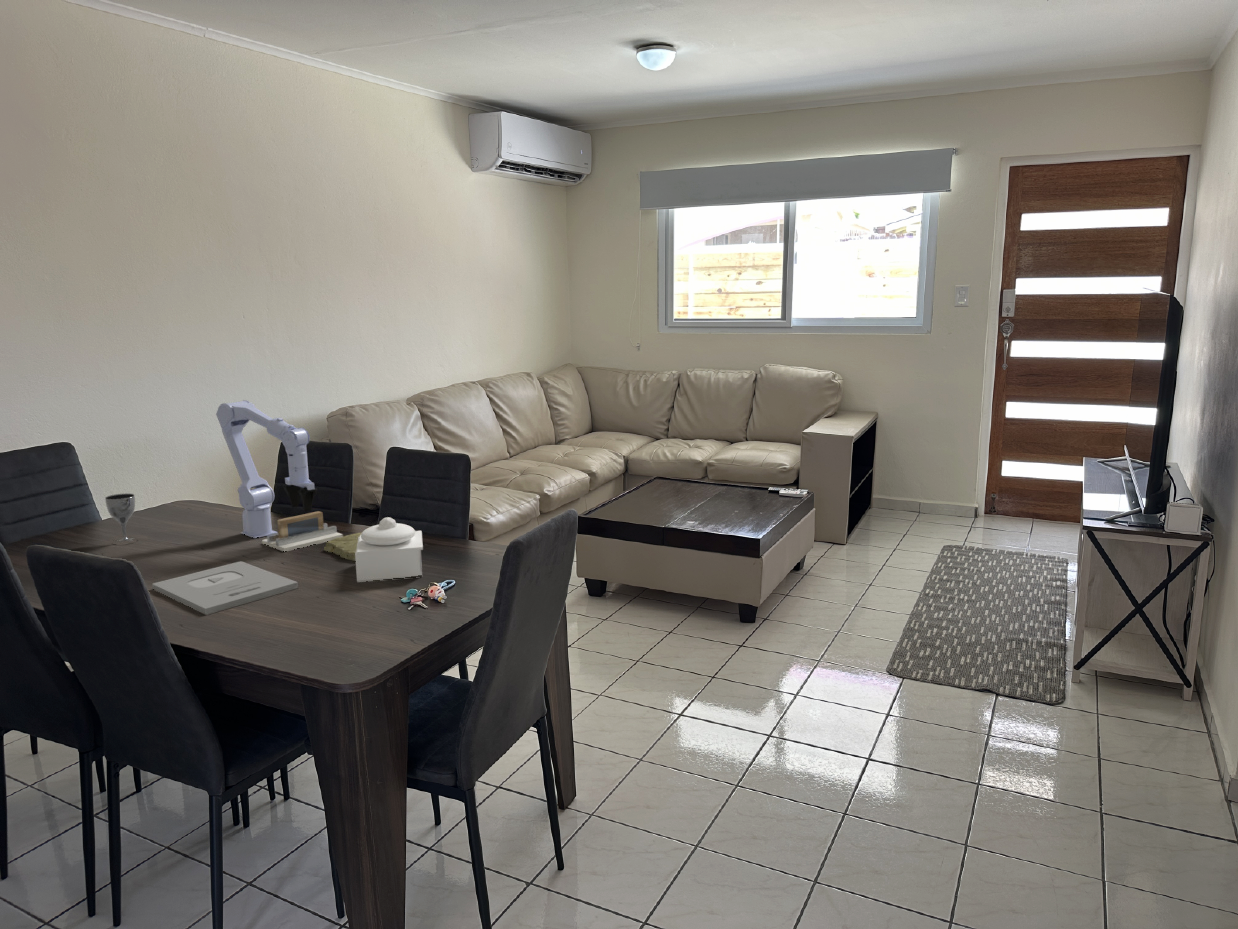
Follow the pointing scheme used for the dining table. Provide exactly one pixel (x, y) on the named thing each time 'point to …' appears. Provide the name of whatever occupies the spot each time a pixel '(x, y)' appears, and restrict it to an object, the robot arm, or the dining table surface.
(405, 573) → the butter dish
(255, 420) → the robot arm
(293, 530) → the tan wooden frame
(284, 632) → the dining table surface
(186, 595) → the award plaque
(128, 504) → the wine glass
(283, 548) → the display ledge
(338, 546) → the mossy green slab
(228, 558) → the dining table surface
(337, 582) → the dining table surface
